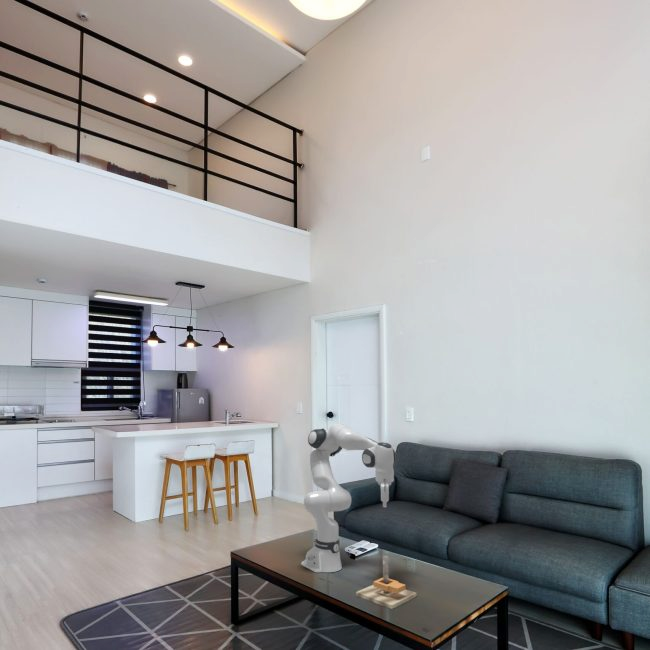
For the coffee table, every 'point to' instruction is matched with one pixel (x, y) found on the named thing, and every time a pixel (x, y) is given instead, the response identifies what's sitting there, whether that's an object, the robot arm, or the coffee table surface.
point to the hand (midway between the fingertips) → (384, 506)
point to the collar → (390, 585)
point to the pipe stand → (385, 592)
